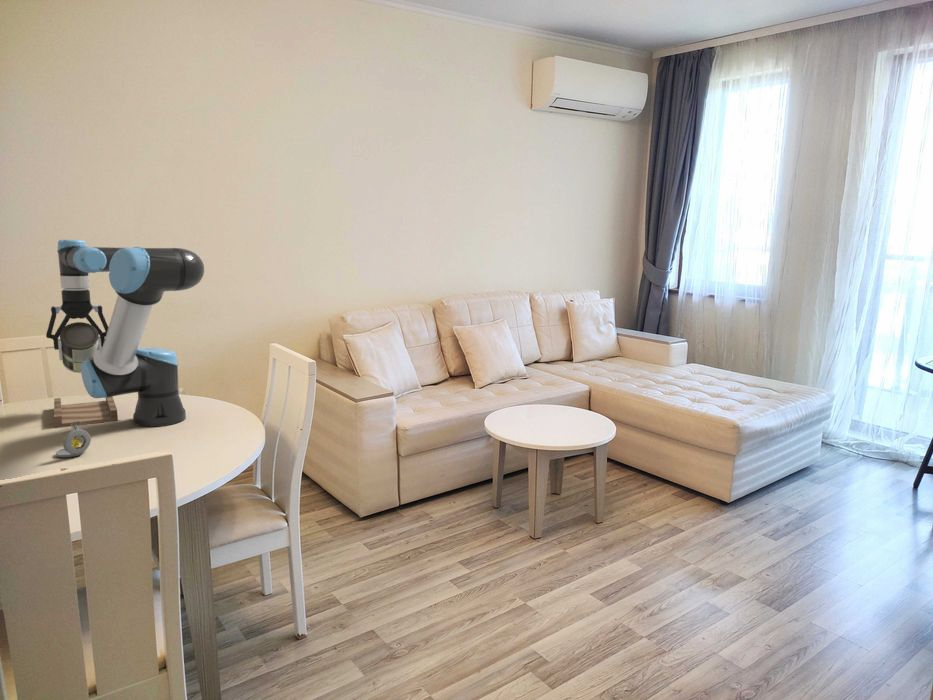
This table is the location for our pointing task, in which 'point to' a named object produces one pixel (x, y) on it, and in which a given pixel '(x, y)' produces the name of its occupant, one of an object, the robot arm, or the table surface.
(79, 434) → the pocket watch
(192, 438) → the table surface
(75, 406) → the cradle
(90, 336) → the coffee can
